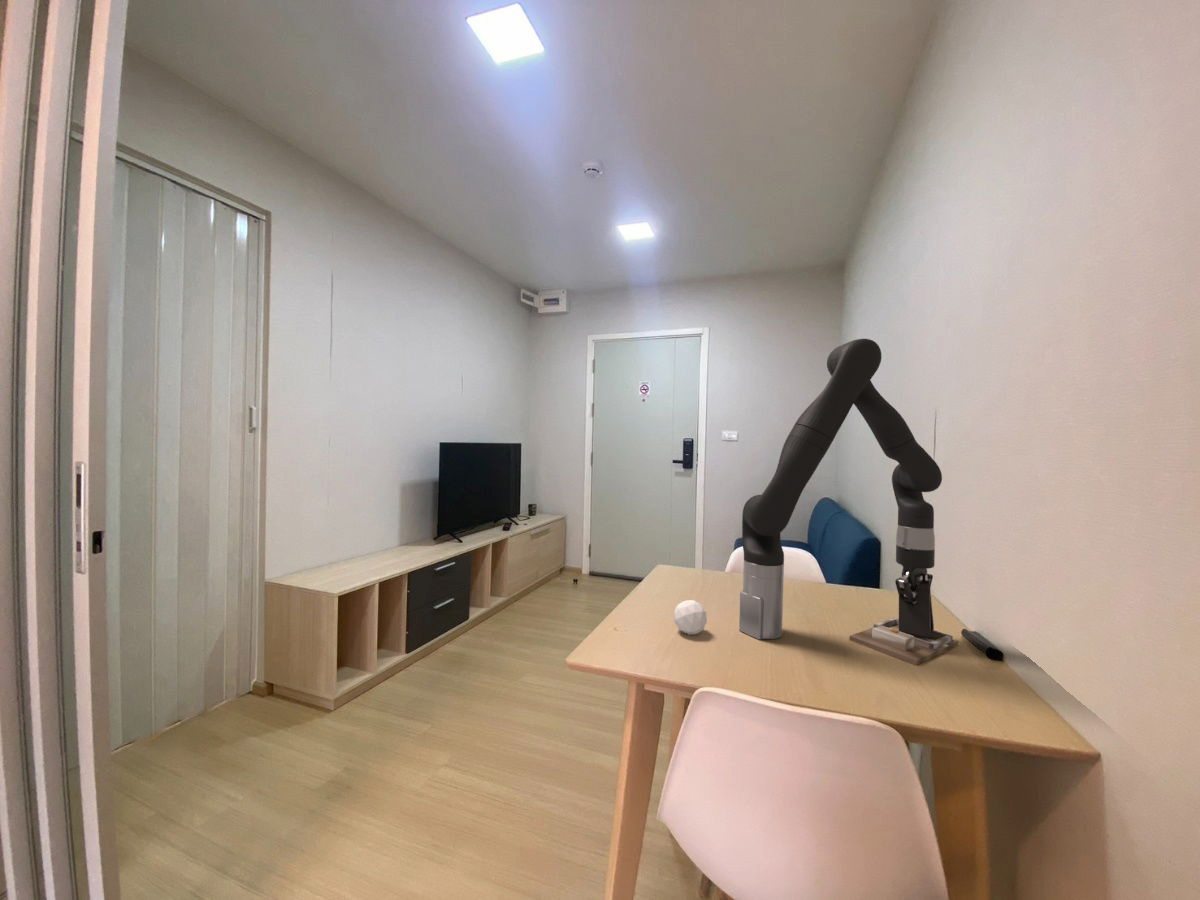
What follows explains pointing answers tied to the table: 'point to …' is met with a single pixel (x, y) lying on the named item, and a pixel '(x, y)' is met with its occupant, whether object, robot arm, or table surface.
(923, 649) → the mouse trap
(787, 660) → the table surface
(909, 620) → the black tent sign
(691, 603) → the geometric ball
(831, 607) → the table surface
